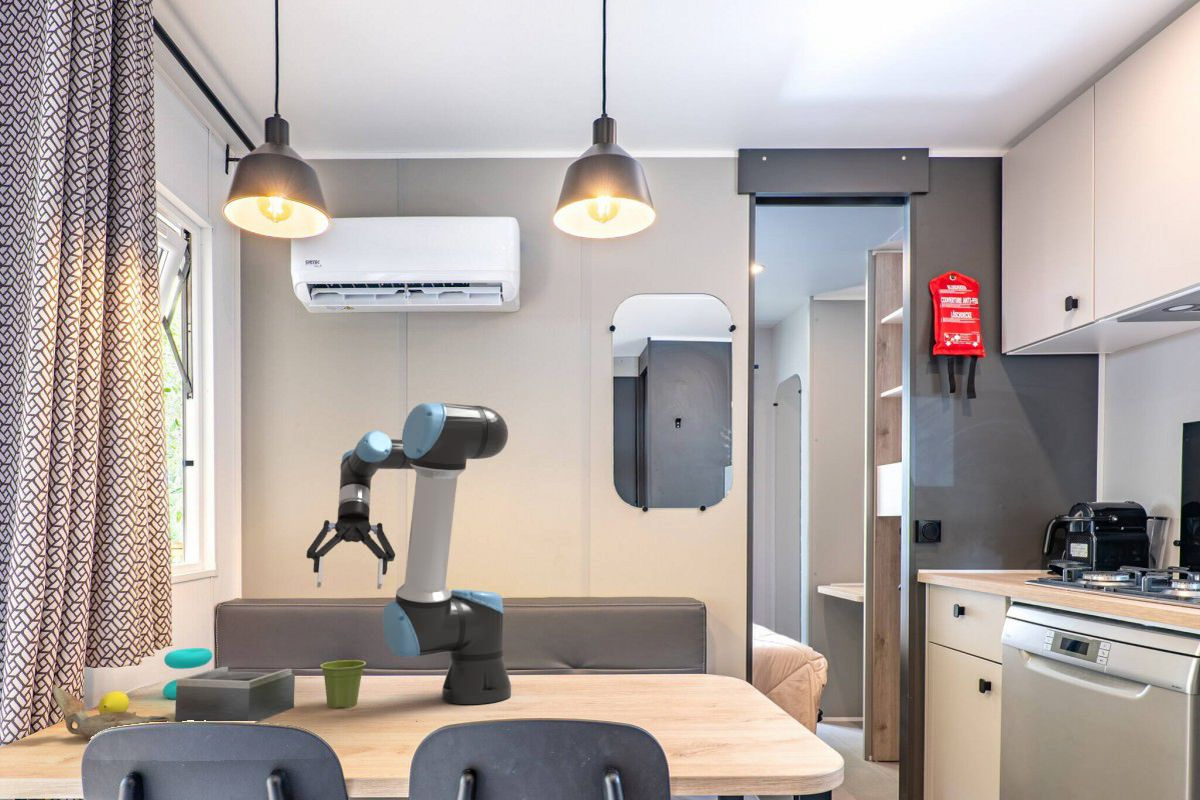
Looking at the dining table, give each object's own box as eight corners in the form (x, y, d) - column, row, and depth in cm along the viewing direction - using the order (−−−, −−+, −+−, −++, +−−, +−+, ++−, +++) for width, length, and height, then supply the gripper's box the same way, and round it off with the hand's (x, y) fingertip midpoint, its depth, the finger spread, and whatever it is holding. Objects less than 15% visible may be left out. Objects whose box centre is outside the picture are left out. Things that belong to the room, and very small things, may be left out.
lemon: (108, 717, 174) (111, 690, 175) (134, 716, 174) (137, 689, 175) (89, 721, 167) (92, 692, 168) (116, 720, 167) (119, 692, 168)
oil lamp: (62, 733, 160) (65, 680, 161) (178, 728, 162) (180, 675, 163) (36, 746, 151) (40, 689, 152) (158, 740, 153) (161, 684, 155)
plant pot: (346, 698, 184) (347, 658, 186) (374, 703, 179) (374, 662, 180) (310, 707, 177) (311, 665, 178) (338, 712, 171) (338, 669, 173)
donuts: (157, 651, 192) (201, 645, 199) (155, 696, 190) (199, 688, 198) (175, 656, 185) (219, 649, 193) (173, 702, 184) (218, 694, 191)
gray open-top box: (293, 707, 177) (294, 667, 178) (248, 725, 162) (249, 682, 163) (213, 703, 182) (215, 665, 183) (162, 721, 167) (164, 679, 168)
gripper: (402, 517, 213) (401, 593, 200) (300, 512, 204) (292, 591, 191) (407, 502, 207) (406, 579, 194) (302, 495, 199) (293, 576, 186)
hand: (349, 585), depth 193 cm, fingers open, 13 cm apart
